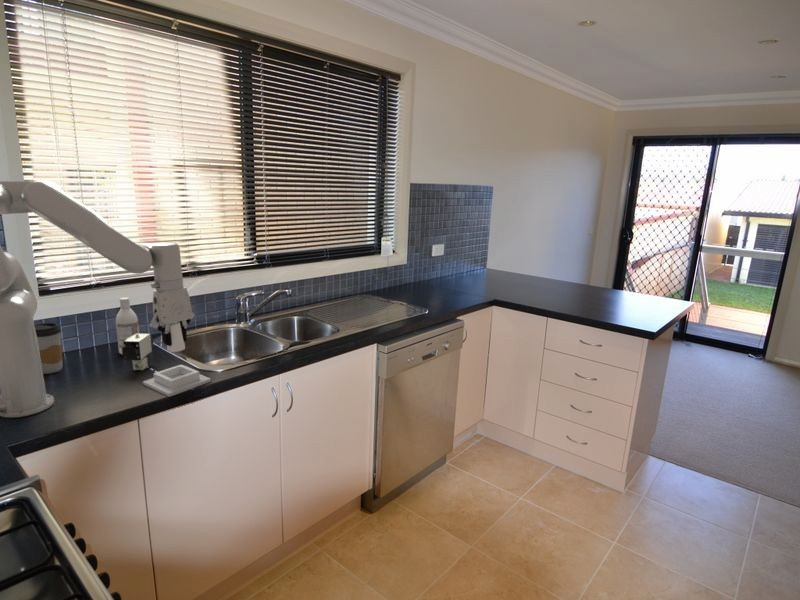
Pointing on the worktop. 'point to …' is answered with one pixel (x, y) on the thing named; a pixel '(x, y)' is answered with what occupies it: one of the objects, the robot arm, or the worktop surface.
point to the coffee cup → (49, 346)
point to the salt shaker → (176, 338)
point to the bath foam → (125, 323)
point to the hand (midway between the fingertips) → (175, 342)
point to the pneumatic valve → (138, 349)
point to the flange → (176, 380)
